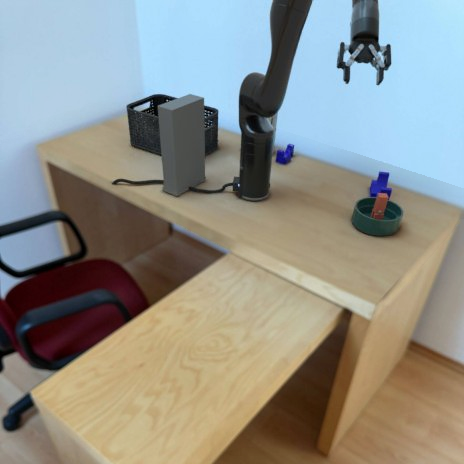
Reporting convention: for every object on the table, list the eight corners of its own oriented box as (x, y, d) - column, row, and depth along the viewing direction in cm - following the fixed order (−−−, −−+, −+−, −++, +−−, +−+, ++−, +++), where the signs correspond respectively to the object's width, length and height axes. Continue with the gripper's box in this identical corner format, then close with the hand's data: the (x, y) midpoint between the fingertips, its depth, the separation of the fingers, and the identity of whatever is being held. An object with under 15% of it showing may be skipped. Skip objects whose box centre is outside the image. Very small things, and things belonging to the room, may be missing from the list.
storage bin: (221, 146, 160) (222, 108, 151) (190, 165, 148) (189, 125, 139) (160, 129, 170) (157, 92, 161) (126, 145, 158) (121, 106, 149)
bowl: (355, 236, 119) (360, 220, 116) (347, 211, 129) (351, 196, 125) (403, 237, 119) (409, 222, 116) (391, 213, 129) (396, 197, 125)
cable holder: (284, 164, 151) (285, 153, 148) (275, 161, 152) (276, 150, 149) (296, 157, 155) (298, 146, 153) (288, 154, 157) (289, 143, 154)
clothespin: (372, 225, 122) (380, 198, 117) (369, 219, 125) (377, 192, 119) (380, 226, 122) (389, 198, 117) (378, 219, 125) (386, 192, 119)
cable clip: (369, 188, 140) (374, 170, 136) (384, 190, 139) (389, 172, 135) (370, 207, 131) (376, 188, 127) (386, 209, 130) (391, 190, 126)
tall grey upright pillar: (190, 175, 143) (188, 93, 126) (205, 180, 140) (204, 97, 123) (162, 191, 134) (154, 105, 117) (177, 197, 132) (172, 110, 115)
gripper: (342, 14, 116) (340, 74, 115) (395, 16, 116) (394, 76, 115) (335, 33, 123) (333, 89, 123) (385, 35, 123) (384, 91, 123)
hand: (363, 83), depth 119 cm, fingers open, 8 cm apart
